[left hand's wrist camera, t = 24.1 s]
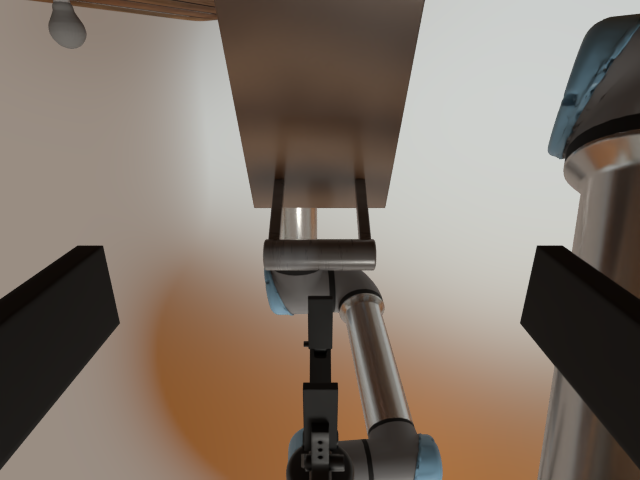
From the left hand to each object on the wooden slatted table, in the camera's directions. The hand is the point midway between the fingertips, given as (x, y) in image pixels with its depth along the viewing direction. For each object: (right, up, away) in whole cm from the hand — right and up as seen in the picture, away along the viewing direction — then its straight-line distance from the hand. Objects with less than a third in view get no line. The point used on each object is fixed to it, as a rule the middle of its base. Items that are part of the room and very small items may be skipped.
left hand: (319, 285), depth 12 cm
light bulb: (-47, +47, +60) cm, 90 cm away
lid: (0, +9, +12) cm, 15 cm away
